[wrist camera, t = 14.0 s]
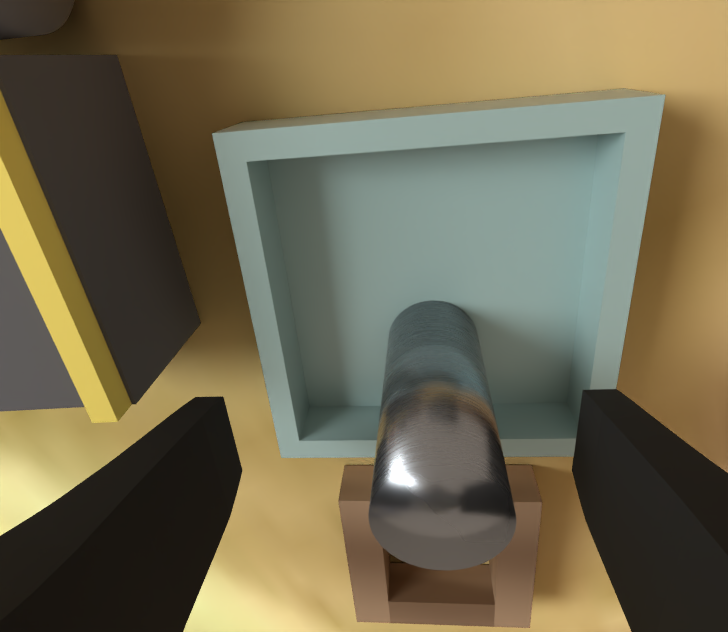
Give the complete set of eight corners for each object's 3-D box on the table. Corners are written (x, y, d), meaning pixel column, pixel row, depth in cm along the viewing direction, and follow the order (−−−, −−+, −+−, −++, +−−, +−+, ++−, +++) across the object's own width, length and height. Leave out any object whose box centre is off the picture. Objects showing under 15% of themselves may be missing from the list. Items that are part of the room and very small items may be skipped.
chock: (203, 320, 15) (121, 421, 11) (67, 330, 15) (-58, 429, 11) (120, 54, 12) (-39, 54, 8) (-45, 81, 12) (-274, 94, 8)
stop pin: (477, 376, 14) (513, 573, 9) (391, 378, 14) (374, 568, 9) (478, 298, 13) (520, 466, 8) (385, 302, 13) (362, 466, 8)
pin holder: (521, 586, 19) (529, 627, 17) (361, 582, 19) (357, 621, 18) (531, 465, 16) (542, 502, 15) (344, 465, 17) (338, 500, 15)
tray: (581, 408, 15) (605, 456, 13) (296, 412, 16) (281, 457, 14) (624, 88, 11) (665, 94, 9) (242, 122, 12) (211, 133, 10)
